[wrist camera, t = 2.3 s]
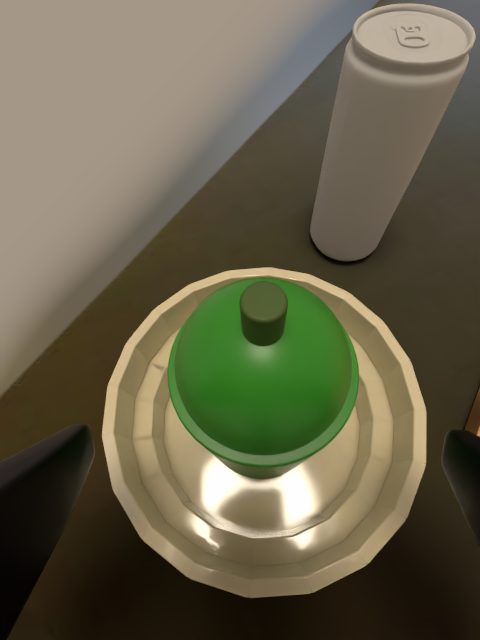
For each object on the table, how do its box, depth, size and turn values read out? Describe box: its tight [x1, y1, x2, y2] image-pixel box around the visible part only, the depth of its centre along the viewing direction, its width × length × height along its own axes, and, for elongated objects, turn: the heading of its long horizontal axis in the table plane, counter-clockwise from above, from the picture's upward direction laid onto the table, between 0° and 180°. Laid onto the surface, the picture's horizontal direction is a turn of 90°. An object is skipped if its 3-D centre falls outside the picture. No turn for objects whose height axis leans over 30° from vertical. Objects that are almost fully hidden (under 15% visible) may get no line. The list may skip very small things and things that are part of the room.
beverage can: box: [310, 4, 476, 261], centre depth 18 cm, size 5×5×12 cm
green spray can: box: [167, 277, 359, 479], centre depth 12 cm, size 6×6×12 cm
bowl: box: [102, 267, 426, 598], centre depth 16 cm, size 13×13×5 cm
